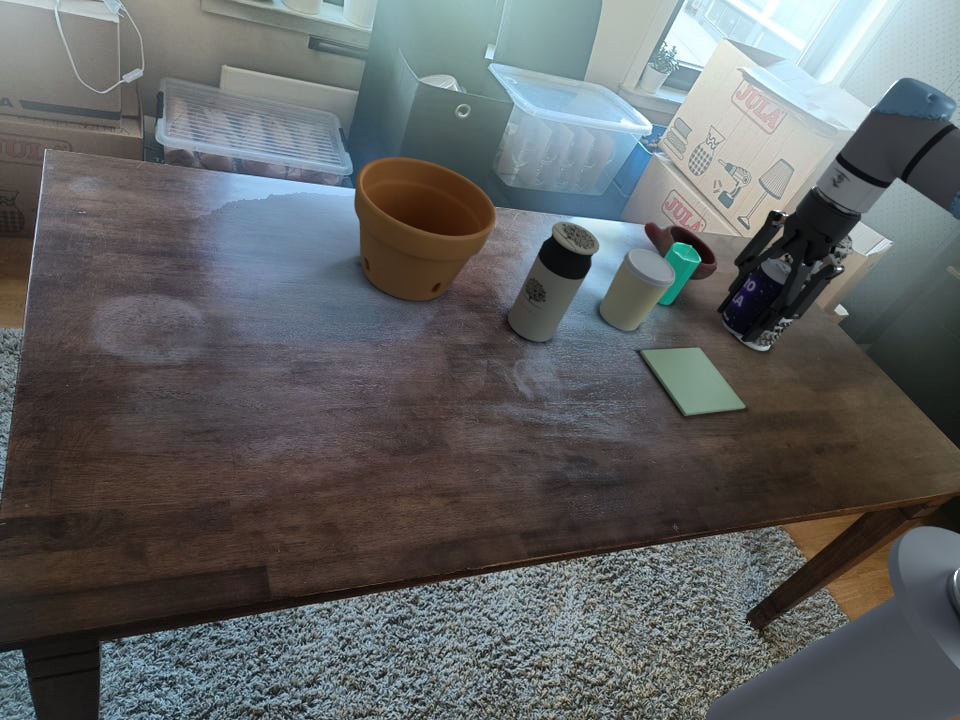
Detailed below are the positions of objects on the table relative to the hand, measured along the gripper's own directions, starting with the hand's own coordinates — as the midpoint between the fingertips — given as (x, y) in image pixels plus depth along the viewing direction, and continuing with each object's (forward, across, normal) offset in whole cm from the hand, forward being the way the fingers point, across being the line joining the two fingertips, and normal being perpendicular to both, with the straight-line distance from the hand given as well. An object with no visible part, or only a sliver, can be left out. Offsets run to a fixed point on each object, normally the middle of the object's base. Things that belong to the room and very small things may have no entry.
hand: (735, 325), depth 99 cm
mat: (+13, 0, 0) cm, 13 cm away
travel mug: (+13, -14, -26) cm, 32 cm away
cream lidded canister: (+13, -16, -6) cm, 22 cm away
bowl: (+13, -30, +17) cm, 37 cm away
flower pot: (+13, -27, -44) cm, 53 cm away
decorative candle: (+13, -10, +24) cm, 29 cm away
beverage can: (+1, 0, 0) cm, 1 cm away
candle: (+13, -22, +8) cm, 27 cm away
